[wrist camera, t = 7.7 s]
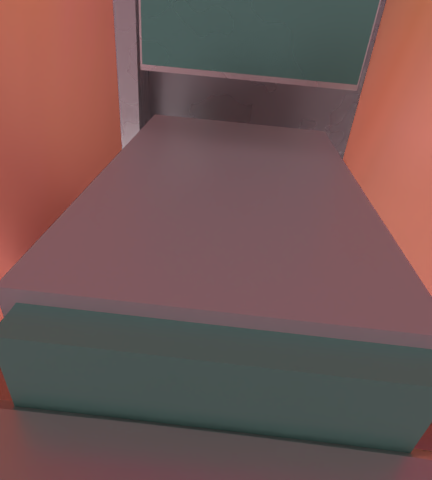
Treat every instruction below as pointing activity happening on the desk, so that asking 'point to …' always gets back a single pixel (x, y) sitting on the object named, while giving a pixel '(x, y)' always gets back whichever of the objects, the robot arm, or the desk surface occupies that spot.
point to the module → (224, 294)
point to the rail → (263, 101)
